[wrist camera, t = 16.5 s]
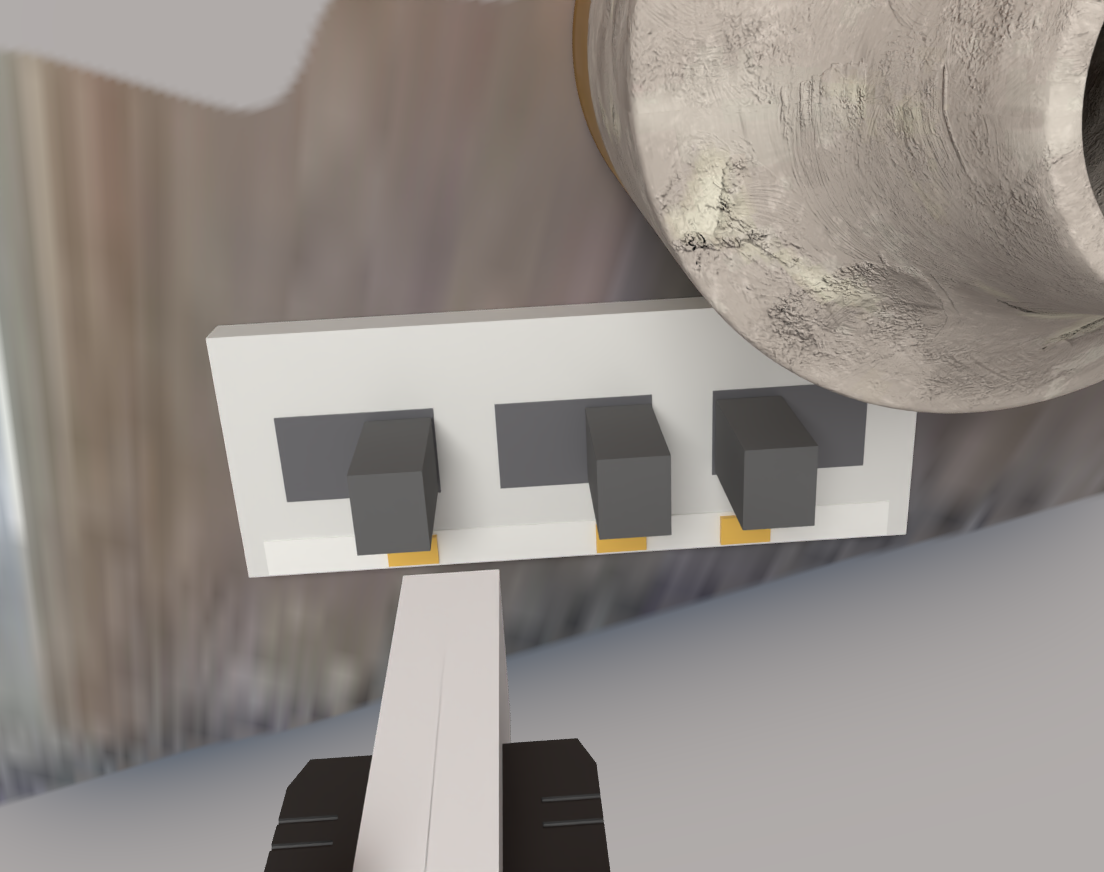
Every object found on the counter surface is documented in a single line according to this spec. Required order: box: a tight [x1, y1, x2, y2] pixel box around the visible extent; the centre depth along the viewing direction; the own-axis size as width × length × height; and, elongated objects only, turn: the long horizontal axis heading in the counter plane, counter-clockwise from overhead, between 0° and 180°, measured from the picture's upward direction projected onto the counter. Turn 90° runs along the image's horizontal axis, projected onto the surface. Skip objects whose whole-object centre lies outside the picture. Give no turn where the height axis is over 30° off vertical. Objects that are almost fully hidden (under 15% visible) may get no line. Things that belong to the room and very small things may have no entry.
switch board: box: [206, 297, 917, 577], centre depth 49 cm, size 32×12×2 cm, turn 93°
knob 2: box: [585, 404, 672, 540], centre depth 45 cm, size 3×4×6 cm
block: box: [347, 417, 438, 556], centre depth 45 cm, size 3×4×6 cm
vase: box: [572, 0, 1104, 413], centre depth 30 cm, size 18×18×30 cm
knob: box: [715, 396, 819, 530], centre depth 45 cm, size 3×4×6 cm
